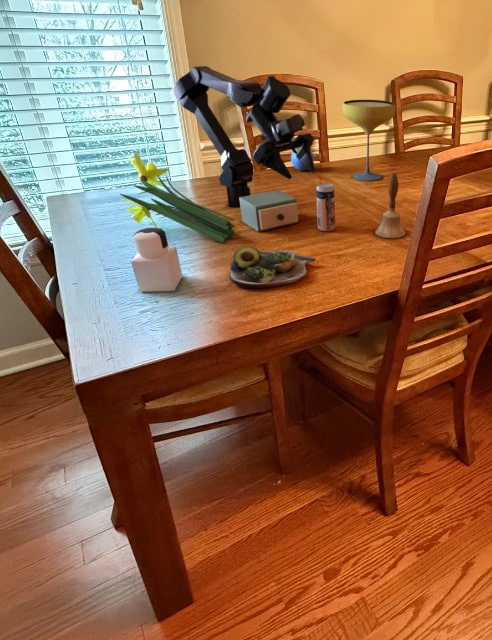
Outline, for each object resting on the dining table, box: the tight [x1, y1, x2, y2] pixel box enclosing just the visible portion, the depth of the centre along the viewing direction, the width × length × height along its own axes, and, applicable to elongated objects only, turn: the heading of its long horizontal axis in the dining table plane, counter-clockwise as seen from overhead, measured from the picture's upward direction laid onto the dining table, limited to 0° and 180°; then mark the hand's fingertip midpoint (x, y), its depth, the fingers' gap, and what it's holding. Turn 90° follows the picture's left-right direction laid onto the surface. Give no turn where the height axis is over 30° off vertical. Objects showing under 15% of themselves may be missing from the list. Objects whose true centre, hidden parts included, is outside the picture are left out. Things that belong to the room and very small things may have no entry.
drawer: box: [258, 202, 299, 230], centre depth 129 cm, size 10×11×5 cm
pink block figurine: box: [130, 227, 183, 293], centre depth 96 cm, size 7×7×12 cm
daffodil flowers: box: [117, 150, 236, 244], centre depth 122 cm, size 17×15×35 cm
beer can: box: [315, 182, 336, 232], centre depth 125 cm, size 5×5×12 cm
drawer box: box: [239, 189, 299, 233], centre depth 130 cm, size 10×12×7 cm
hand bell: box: [374, 172, 406, 240], centre depth 122 cm, size 8×8×16 cm
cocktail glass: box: [342, 99, 396, 182], centre depth 166 cm, size 18×18×25 cm
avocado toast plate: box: [229, 245, 317, 289], centre depth 105 cm, size 19×18×5 cm
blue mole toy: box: [290, 150, 319, 171], centre depth 178 cm, size 12×12×8 cm
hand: (302, 174), depth 125 cm, fingers open, 9 cm apart
